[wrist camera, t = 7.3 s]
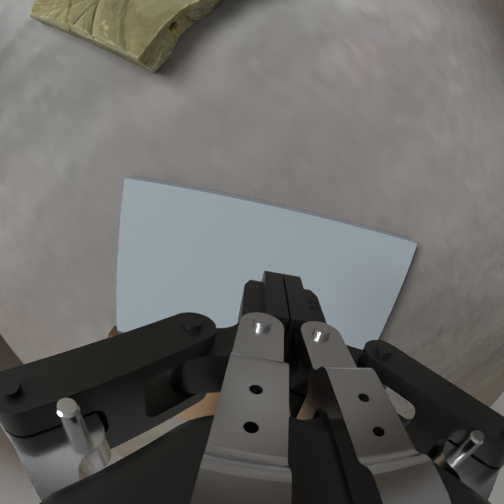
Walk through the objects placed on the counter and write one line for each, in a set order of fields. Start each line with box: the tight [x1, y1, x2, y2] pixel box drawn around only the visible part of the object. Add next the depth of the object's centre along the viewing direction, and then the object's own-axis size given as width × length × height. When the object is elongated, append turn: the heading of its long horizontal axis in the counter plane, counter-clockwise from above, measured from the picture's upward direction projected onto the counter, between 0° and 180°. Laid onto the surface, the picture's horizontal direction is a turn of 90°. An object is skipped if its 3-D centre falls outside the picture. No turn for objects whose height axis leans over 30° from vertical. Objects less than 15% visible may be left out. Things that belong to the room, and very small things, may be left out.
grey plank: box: [117, 176, 418, 350], centre depth 25 cm, size 24×14×2 cm, turn 78°
